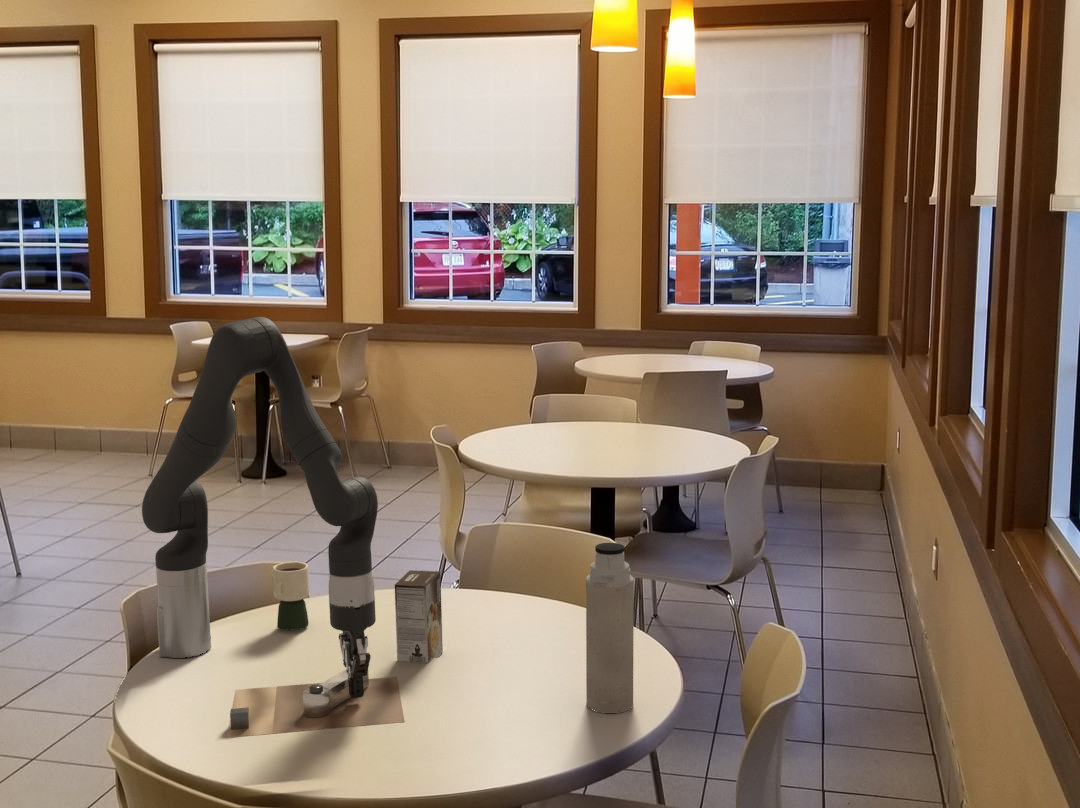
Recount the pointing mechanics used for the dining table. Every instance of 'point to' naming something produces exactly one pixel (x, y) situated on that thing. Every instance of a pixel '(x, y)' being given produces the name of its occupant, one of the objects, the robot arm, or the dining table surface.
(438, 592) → the coffee box
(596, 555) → the thermos bottle
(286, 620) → the character mug
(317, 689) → the latch bar
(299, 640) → the dining table surface
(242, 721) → the block
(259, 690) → the door board
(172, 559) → the robot arm
